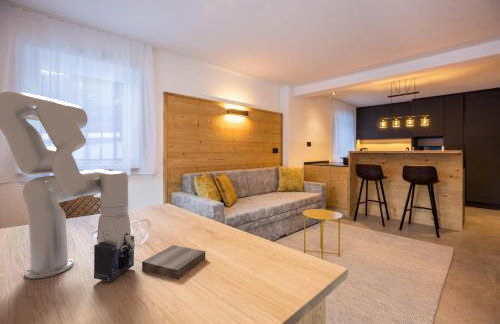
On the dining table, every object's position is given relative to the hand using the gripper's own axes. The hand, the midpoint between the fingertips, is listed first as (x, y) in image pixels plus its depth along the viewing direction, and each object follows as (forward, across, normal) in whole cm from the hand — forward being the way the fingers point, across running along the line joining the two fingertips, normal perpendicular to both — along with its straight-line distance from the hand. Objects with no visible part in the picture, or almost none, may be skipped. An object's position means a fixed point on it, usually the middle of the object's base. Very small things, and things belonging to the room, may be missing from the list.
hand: (115, 264), depth 76 cm
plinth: (+3, +13, +13) cm, 19 cm away
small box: (+3, 0, 0) cm, 3 cm away
